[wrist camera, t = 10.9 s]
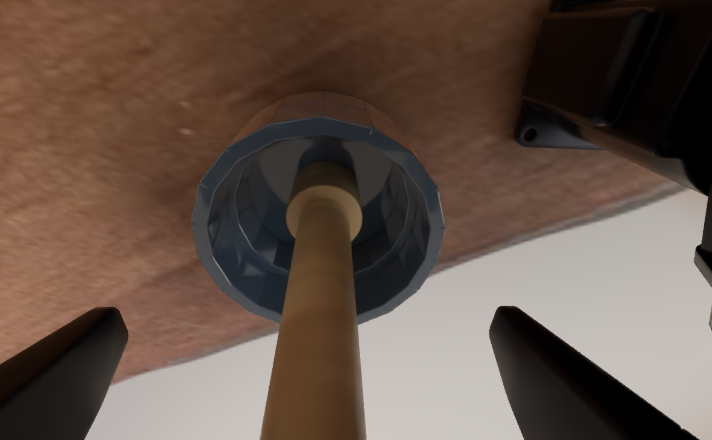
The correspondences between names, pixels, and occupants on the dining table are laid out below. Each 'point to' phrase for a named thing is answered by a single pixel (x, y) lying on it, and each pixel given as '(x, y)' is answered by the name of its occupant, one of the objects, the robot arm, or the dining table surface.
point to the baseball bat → (319, 315)
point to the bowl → (272, 192)
